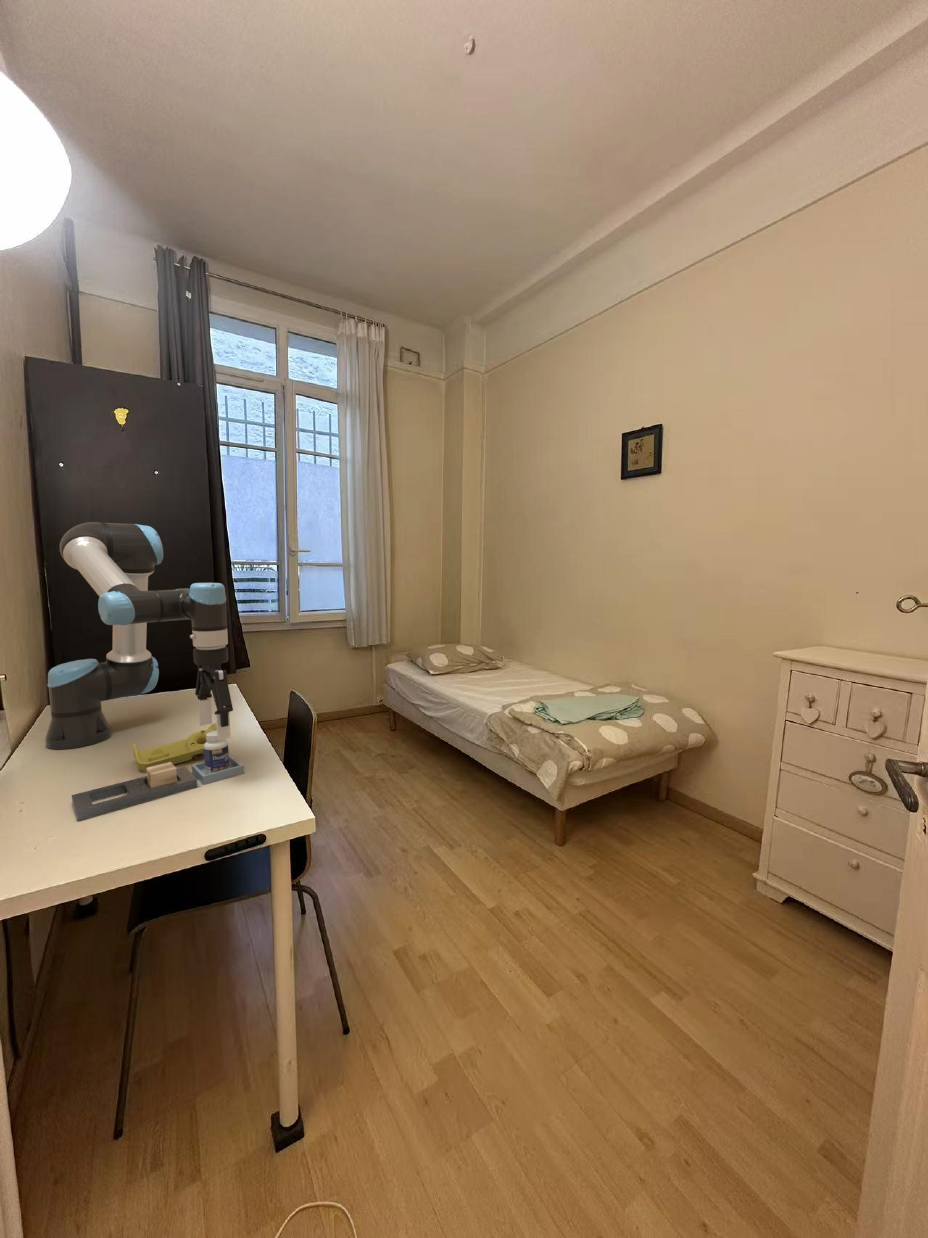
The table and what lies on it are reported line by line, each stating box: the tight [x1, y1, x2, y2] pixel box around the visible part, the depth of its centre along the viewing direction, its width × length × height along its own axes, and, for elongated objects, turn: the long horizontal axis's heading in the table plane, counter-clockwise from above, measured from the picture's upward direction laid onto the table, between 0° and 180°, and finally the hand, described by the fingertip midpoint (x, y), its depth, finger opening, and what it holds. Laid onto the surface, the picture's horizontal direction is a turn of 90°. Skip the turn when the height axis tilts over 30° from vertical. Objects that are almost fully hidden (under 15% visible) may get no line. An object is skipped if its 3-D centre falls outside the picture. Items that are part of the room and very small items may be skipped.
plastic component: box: [132, 723, 217, 773], centre depth 131 cm, size 20×7×10 cm
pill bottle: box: [203, 731, 230, 774], centre depth 120 cm, size 5×5×10 cm
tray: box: [191, 754, 245, 786], centre depth 121 cm, size 9×9×2 cm
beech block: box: [146, 762, 177, 789], centre depth 112 cm, size 5×5×5 cm
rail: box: [71, 766, 198, 822], centre depth 109 cm, size 10×22×2 cm, turn 134°
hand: (214, 731), depth 120 cm, fingers open, 13 cm apart
